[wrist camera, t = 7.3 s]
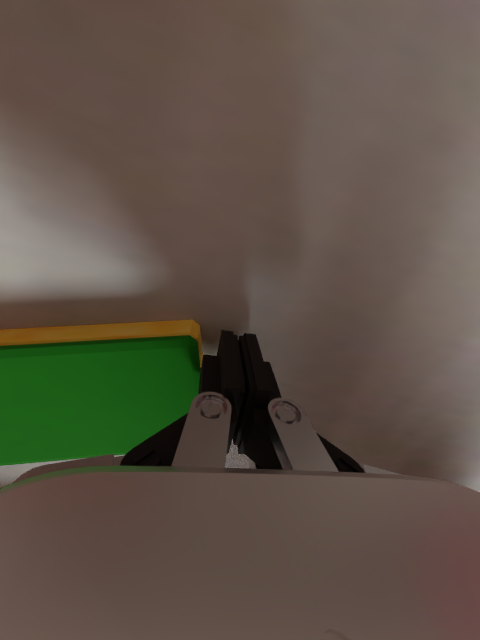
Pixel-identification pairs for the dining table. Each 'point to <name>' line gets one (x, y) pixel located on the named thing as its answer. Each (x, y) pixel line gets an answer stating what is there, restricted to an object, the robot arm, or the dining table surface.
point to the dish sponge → (93, 387)
